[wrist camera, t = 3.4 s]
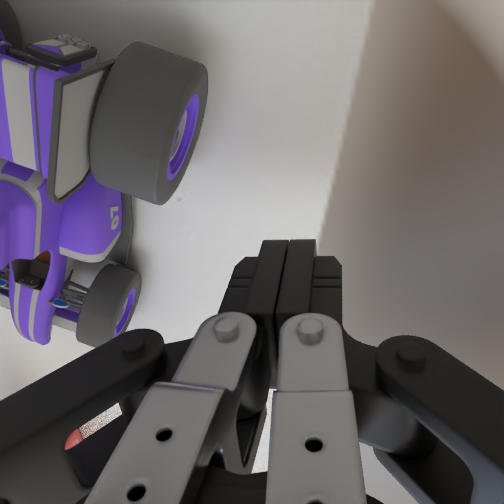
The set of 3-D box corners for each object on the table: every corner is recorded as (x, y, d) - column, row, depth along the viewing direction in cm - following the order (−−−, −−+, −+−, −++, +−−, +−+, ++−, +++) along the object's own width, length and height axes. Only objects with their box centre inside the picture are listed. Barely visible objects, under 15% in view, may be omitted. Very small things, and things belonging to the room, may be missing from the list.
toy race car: (-28, 288, 24) (-137, 380, 19) (-37, -38, 16) (-231, -46, 11) (146, 349, 24) (89, 458, 19) (221, 55, 17) (160, 95, 11)
